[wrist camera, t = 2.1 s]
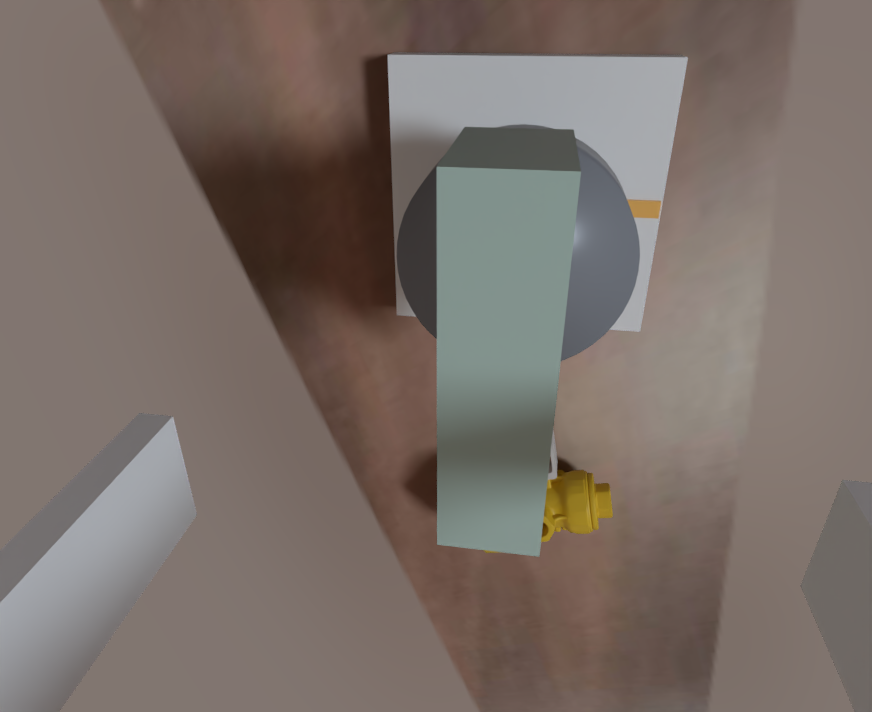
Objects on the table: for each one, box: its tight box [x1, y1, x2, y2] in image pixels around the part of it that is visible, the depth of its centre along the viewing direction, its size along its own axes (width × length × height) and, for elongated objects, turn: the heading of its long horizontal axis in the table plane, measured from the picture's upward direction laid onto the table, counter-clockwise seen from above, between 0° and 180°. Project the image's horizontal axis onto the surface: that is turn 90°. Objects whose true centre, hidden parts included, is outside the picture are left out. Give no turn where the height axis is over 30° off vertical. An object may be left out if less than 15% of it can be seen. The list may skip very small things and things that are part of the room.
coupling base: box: [388, 52, 688, 332], centre depth 29 cm, size 13×13×6 cm
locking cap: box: [397, 124, 640, 557], centre depth 21 cm, size 12×9×12 cm
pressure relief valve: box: [484, 431, 613, 553], centre depth 37 cm, size 6×12×10 cm
